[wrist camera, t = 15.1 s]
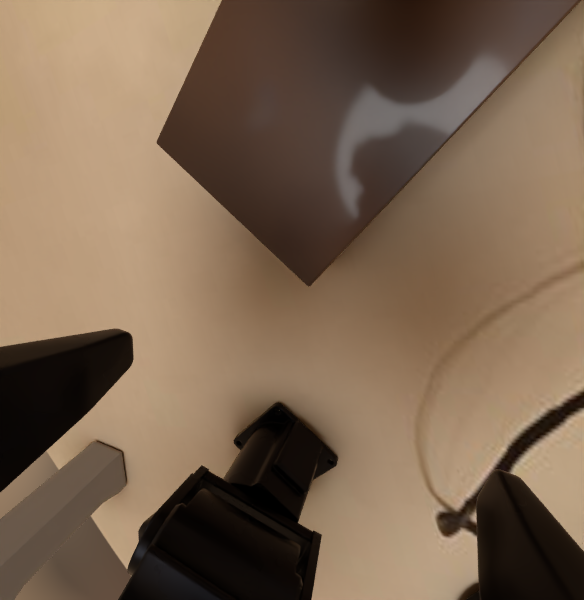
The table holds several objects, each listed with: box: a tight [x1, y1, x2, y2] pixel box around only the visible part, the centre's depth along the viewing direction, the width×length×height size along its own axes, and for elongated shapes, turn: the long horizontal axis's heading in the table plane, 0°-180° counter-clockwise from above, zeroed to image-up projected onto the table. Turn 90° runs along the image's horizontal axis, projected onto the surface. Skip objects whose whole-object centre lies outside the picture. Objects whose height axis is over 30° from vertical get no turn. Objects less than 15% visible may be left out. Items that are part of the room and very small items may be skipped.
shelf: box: [157, 0, 581, 286], centre depth 14 cm, size 16×10×5 cm, turn 139°
